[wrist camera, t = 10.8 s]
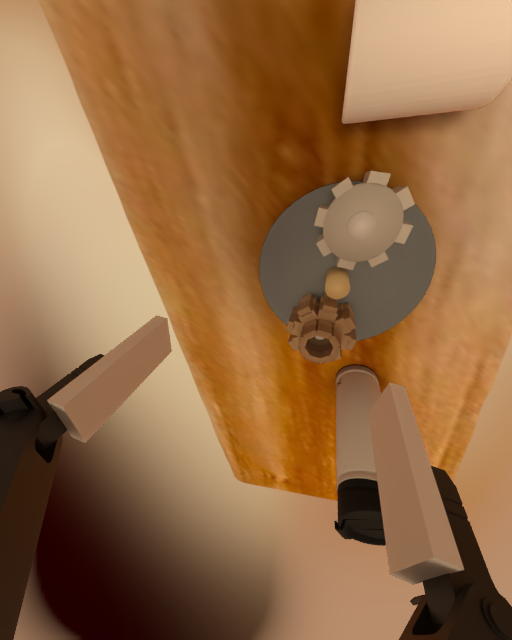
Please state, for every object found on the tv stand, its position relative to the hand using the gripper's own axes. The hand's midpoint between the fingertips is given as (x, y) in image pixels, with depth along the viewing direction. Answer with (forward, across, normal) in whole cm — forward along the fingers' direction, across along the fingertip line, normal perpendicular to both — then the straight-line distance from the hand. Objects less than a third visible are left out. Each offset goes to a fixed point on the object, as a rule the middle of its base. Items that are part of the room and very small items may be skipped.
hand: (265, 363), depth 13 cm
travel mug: (+20, +12, -17) cm, 29 cm away
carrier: (+20, +4, 0) cm, 20 cm away
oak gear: (+18, +4, -7) cm, 20 cm away
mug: (+21, +4, +20) cm, 29 cm away
